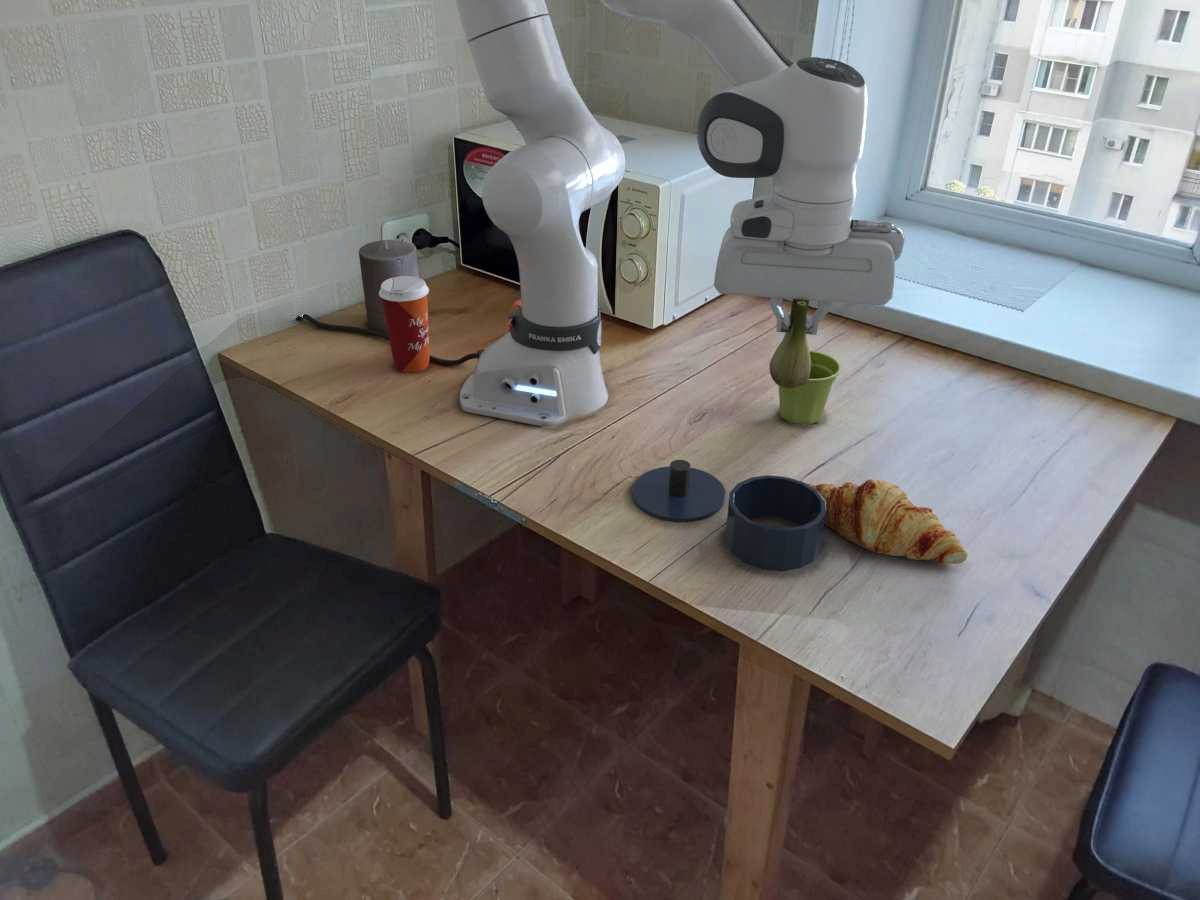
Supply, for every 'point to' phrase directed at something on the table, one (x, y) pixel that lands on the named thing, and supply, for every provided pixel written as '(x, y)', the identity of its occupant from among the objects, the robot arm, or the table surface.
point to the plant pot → (810, 391)
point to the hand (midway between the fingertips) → (796, 331)
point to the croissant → (888, 522)
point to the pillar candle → (384, 274)
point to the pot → (775, 543)
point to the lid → (678, 493)
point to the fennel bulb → (793, 351)
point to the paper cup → (407, 321)
